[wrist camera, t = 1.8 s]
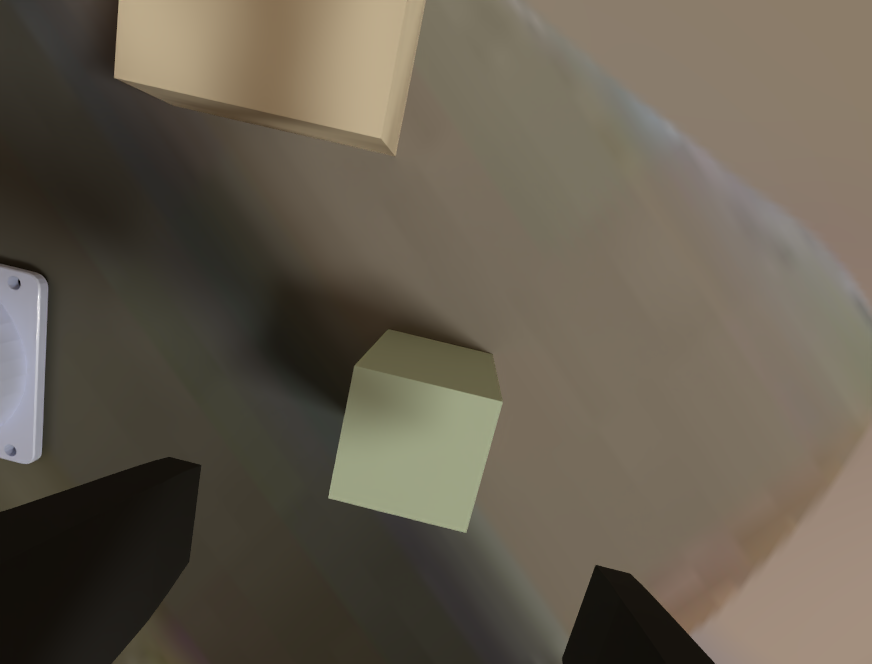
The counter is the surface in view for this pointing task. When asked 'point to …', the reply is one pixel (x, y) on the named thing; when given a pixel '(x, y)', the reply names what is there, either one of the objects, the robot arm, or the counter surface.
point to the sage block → (417, 430)
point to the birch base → (278, 62)
